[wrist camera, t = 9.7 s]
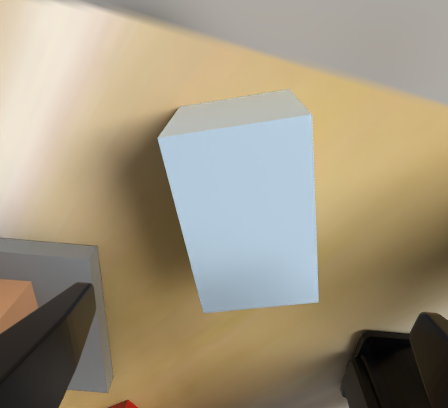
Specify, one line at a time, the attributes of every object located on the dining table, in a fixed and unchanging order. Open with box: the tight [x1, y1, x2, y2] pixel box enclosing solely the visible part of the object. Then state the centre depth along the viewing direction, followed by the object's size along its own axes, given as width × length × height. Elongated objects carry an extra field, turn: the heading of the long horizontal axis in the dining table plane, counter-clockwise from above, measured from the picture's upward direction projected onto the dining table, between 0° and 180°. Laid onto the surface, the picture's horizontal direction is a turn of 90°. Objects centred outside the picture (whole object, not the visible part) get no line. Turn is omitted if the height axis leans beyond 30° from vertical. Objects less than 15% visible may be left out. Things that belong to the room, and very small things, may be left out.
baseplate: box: [0, 238, 113, 393], centre depth 21 cm, size 12×12×1 cm
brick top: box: [158, 89, 319, 313], centre depth 15 cm, size 5×8×5 cm, turn 9°
